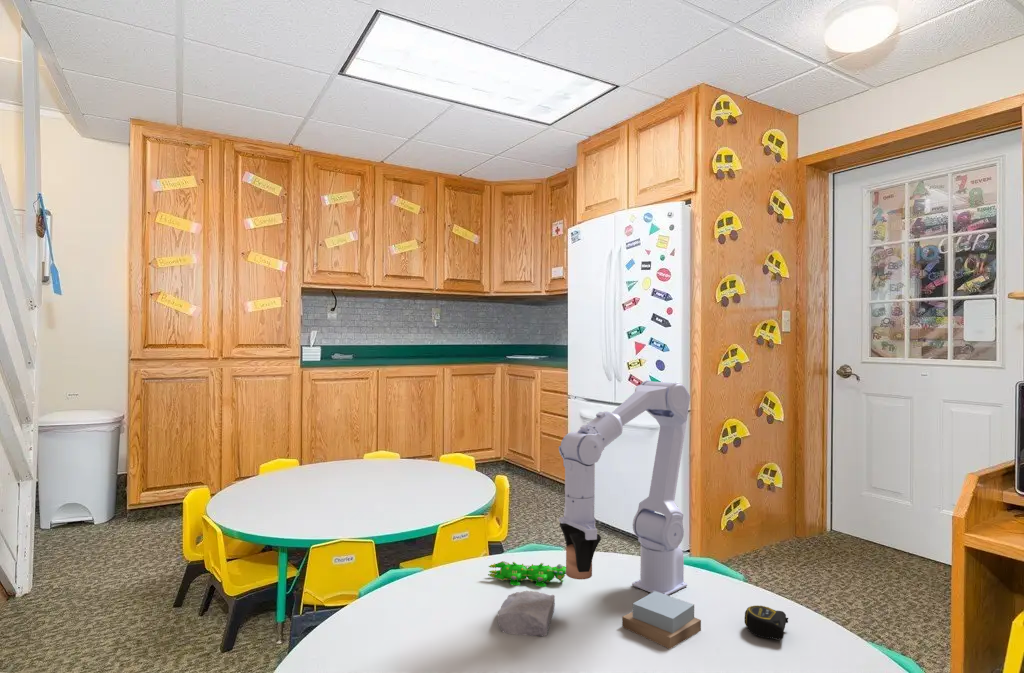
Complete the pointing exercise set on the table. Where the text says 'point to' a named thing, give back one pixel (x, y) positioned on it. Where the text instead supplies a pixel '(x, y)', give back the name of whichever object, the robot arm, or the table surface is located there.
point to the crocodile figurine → (527, 573)
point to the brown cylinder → (574, 565)
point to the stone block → (527, 613)
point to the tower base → (661, 631)
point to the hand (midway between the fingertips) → (579, 565)
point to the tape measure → (765, 622)
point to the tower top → (663, 611)
